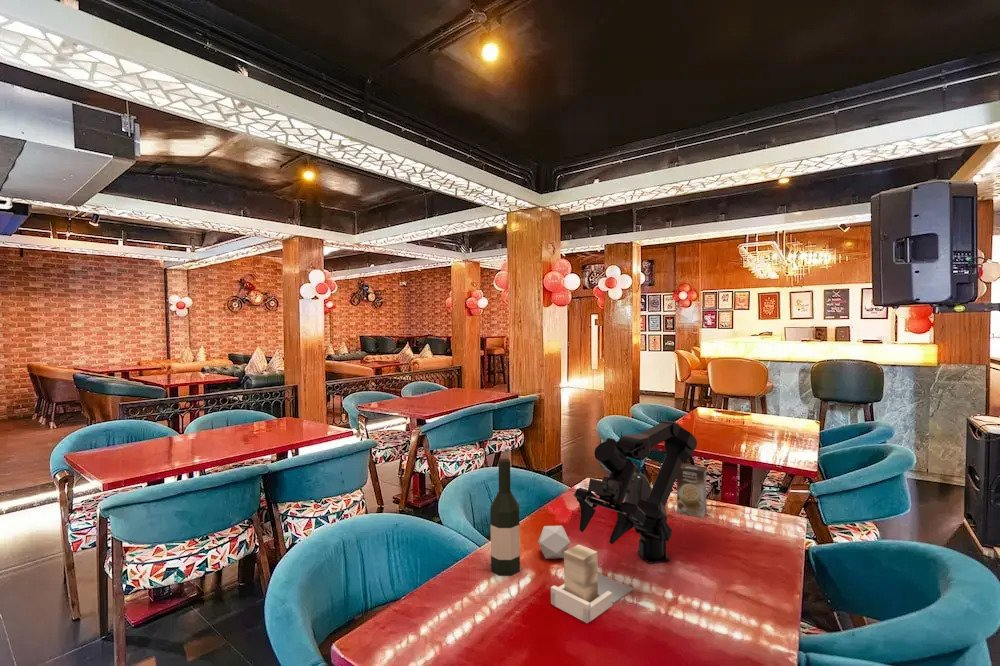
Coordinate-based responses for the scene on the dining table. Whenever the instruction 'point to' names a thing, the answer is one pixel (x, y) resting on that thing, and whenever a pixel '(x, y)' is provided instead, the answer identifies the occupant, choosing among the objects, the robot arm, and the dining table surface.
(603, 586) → the grey pad
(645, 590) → the dining table surface
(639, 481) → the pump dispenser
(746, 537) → the dining table surface
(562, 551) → the die
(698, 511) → the coffee box
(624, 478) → the robot arm
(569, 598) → the white angular bracket
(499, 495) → the wine bottle
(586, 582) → the birch block
